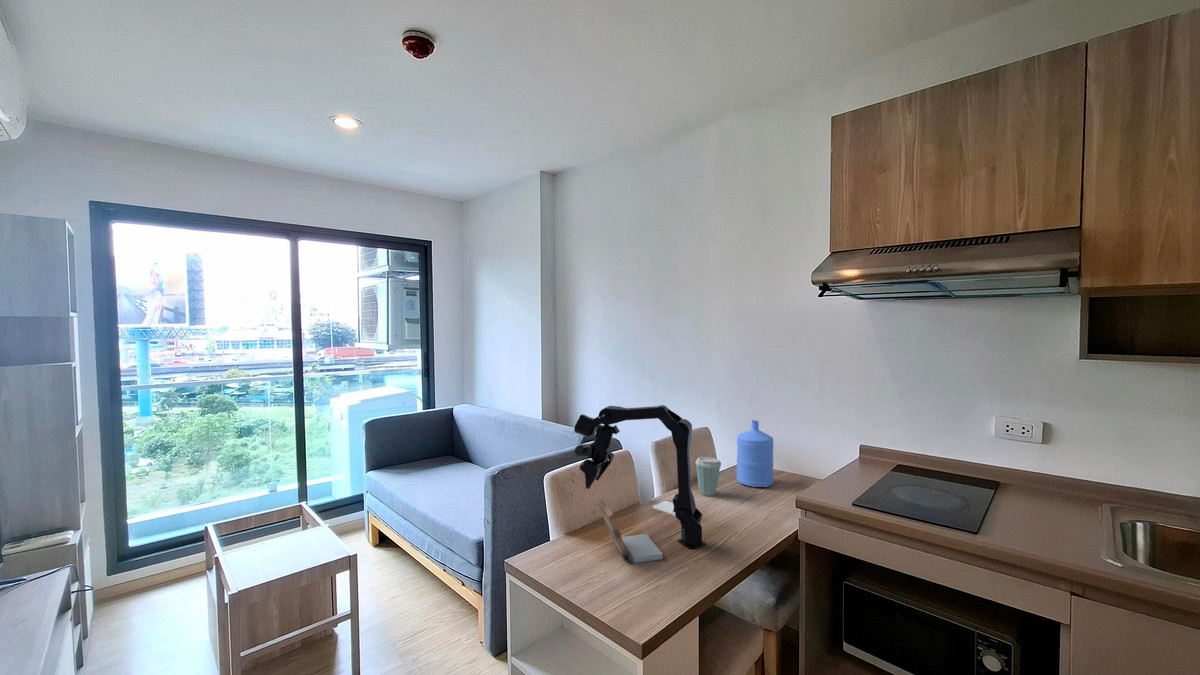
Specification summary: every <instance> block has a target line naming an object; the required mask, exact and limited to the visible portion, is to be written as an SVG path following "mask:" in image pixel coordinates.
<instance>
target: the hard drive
mask: <svg viewBox="0 0 1200 675" xmlns="http://www.w3.org/2000/svg"><path fill="white" fill-rule="evenodd" d="M653 508H654V509H653ZM652 509H653V510H655V509H657V510H656V511H658V510H660V511H659V512H661V511H663V512H662V513H664V512H666V513H665V514H667V513H668V515H670V514H672V515H671V516H673V515H674V516H673V517H676V516H675V512H673V510H674V505H673V502H671V501H668V500H664V501H661V502H659V503H657V504H654V505H652Z"/></svg>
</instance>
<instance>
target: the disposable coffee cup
mask: <svg viewBox="0 0 1200 675" xmlns="http://www.w3.org/2000/svg"><path fill="white" fill-rule="evenodd" d="M694 464H695V467H696V475H697V485H698V492H699V494H700V493H701V494H702V495H701V494H700V495H701V496H704V495H708V496H707V497H710V496H709V495H714V494H715V495H716V492H717V487H718V482H719V481H718V480H719V475H720V471H721V470H720V469H721V467H722V462H721V461H720V459H718V458H714V457H710V456H709V457H708V456H700V457H697V458H696V460H695V463H694ZM715 495H714V496H715Z"/></svg>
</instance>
